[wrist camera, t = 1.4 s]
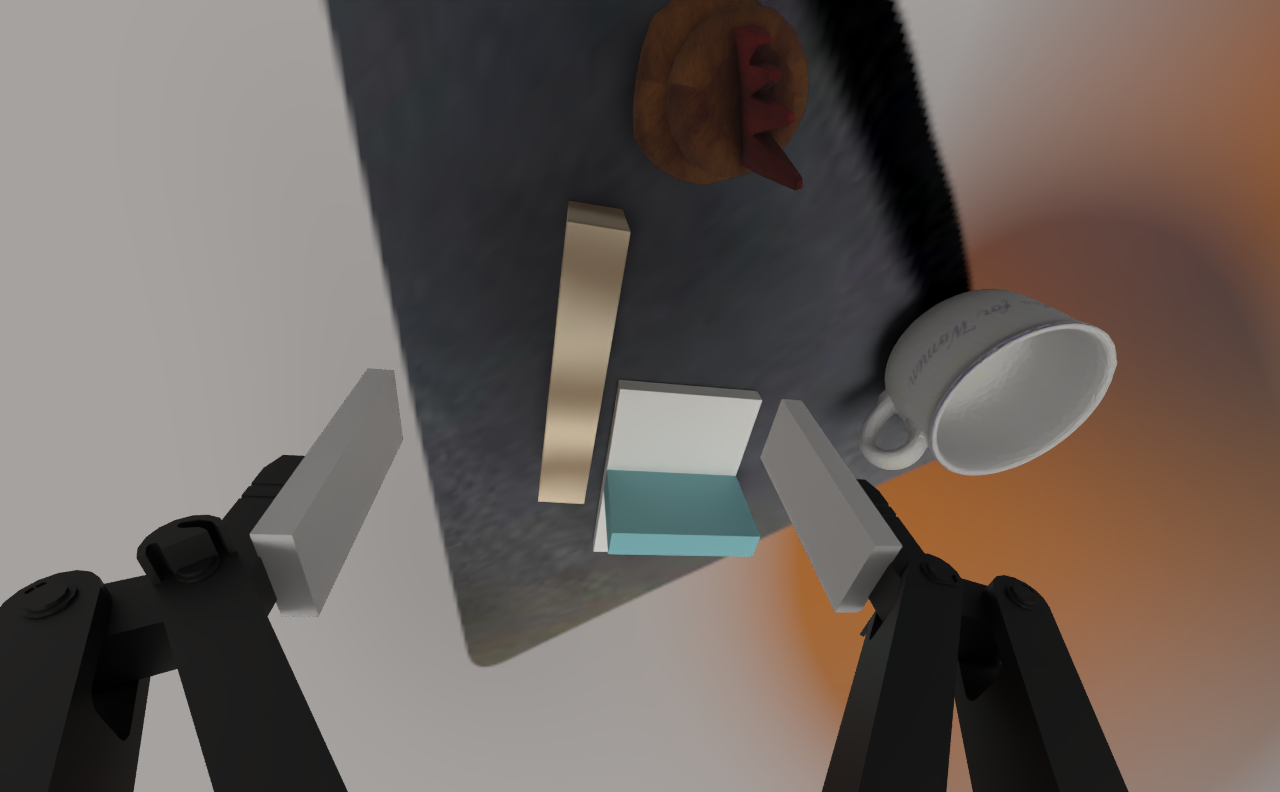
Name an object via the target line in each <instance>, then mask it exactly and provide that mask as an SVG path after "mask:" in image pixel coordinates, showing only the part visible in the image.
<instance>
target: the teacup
mask: <svg viewBox="0 0 1280 792" xmlns="http://www.w3.org/2000/svg"><path fill="white" fill-rule="evenodd" d="M1116 365H1117V360H1116V350H1115V346H1114V343H1113V342H1112V340H1111V338H1110V337H1109V335H1108V334H1107V333H1105V332H1104V331H1102V330H1101V329H1099V328H1097V327H1095V326H1093V325H1090V324H1087V323H1083V322H1079V321H1077V320H1076V319H1074V318H1072V317H1070V316H1068V315H1066V314H1064V313H1062V312H1060V311H1058V310H1056V309H1054V308H1052V307H1050V306H1047V305H1045V304H1043V303H1041V302H1038V301H1036V300H1034V299H1032V298H1029V297H1027V296H1024V295H1021V294H1018V293H1015V292H1010V291H1006V290H998V289H982V290H975V291H969V292H966V293H962V294H959V295H956V296H953V297H951V298H949V299H946V300H944V301H942V302H940V303H938V304H937V305H935V306H934V307H932V308H931V309H929V310H928V311H926V312H925V313H923V314H922V315H921V316H920V317H918V318H917V319H916V320H915V321H914V322H913V323H912V324H911V325H910V326H909V327H908V328H907V329H906V330H905V332H904V333H903V334H902V335H901V337H900V338H899V340H898V341H897V343H896V344H895V346H894V348H893V350H892V352H891V354H890V356H889V359H888V362H887V366H886V370H885V387H886V389H885V390H884V391H883V392H882V393H880V395H879V396H878V400H877V405H876V406H875V407H874V409H873V410H872V411H871V413H870V414H869V415H868V417H867V418H866V420H865V421H864V423H863V425H862V427H861V429H860V433H859V446H860V449H861V451H862V453H863V454H864V456H865V458H866V459H867V460H868V461H869V462H871V463H872V464H873V465H875V466H877V467H880V468H883V469H887V470H898V469H902V468H905V467H908V466H910V465H912V464H913V463H915V462H916V461H917V460H918V459H919V458H920V457H921V456H922V455H923V453H924V451H925V449H926V448H927V447H928V448H929V449H930V450H931V452H932V454H933V455H934V457H935V458H936V459H937V461H938V462H939V463H940V464H941V465H943V466H944V467H945V468H947V469H948V470H950V471H952V472H955V473H958V474H964V475H984V474H992V473H997V472H1001V471H1004V470H1007V469H1011V468H1014V467H1016V466H1019V465H1022V464H1024V463H1026V462H1028V461H1030V460H1032V459H1034V458H1036V457H1038V456H1040V455H1042V454H1043V453H1045V452H1046V451H1048V450H1050V449H1051V448H1053V447H1055V446H1056V445H1057V444H1058V443H1059V442H1061V441H1062V440H1064V439H1065V438H1066V437H1068V436H1069V435H1070V434H1071V433H1072V432H1074V431H1075V430H1076V429H1077V428H1078V427H1079V426H1080V425H1081V424H1082V423H1083V422H1084V421H1085V420H1086V419H1087V418H1088V417H1089V416H1090V414H1091V413H1092V412H1093V411H1094V409H1095V408H1096V407H1097V406H1098V404H1099V403H1100V401H1101V400H1102V398H1103V397H1104V395H1105V393H1106V391H1107V388H1108V386H1109V385H1110V383H1111V381H1112V377H1113V373H1114V371H1115V368H1116ZM894 414H898V416H899V417H900V418H901V419H902V420H903V422H904V423H905V429H906V432H907V434H908V440H907V442H906V443H905V445H903V446H901V447H899V448H897V449H894V450H884V449H880V448H878V447H877V446H876V445H875V440H876V436H877V434H878V432H879V431H880V429H881V428H882V426H883V425H884V424H885V422H886V421H887V420H888V419H889V418H890V417H891V416H892V415H894Z"/></svg>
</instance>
